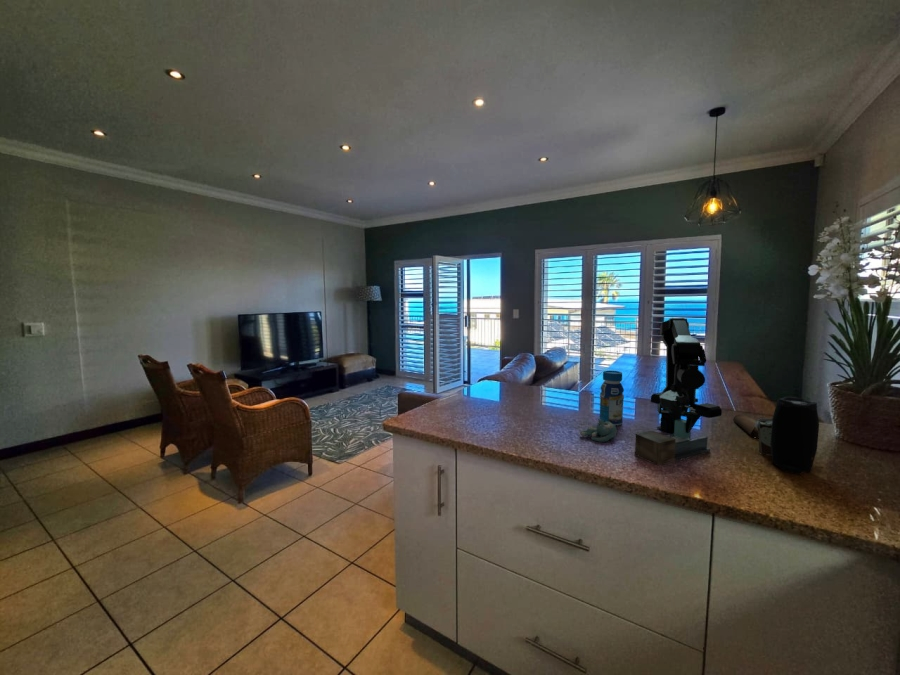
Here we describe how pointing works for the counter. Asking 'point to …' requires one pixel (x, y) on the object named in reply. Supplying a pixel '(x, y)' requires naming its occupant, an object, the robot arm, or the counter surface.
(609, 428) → the stuffed animal
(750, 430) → the sunglasses case
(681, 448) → the sleeve channel
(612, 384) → the beverage bottle
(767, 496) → the counter surface
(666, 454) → the socket block
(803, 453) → the portable speaker
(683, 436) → the teal angled piece
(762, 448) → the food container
